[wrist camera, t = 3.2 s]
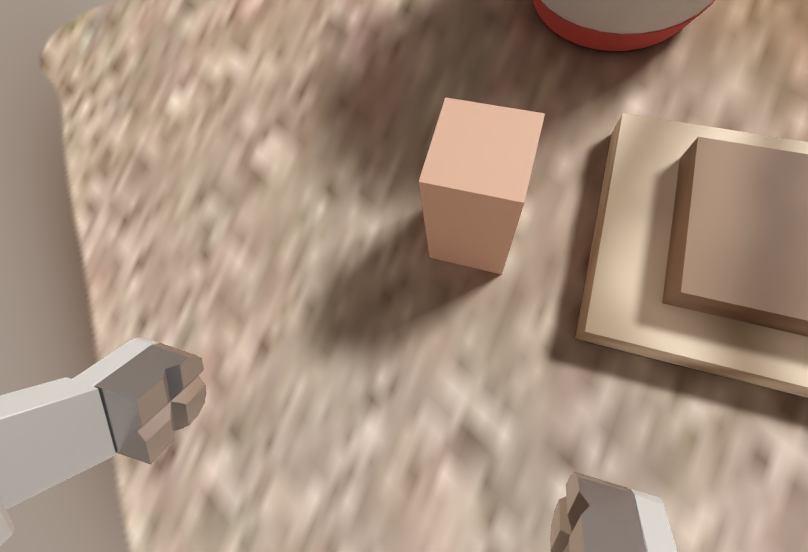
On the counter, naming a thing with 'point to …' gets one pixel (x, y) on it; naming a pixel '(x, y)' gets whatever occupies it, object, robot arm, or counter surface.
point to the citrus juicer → (618, 21)
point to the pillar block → (477, 181)
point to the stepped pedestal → (702, 252)
